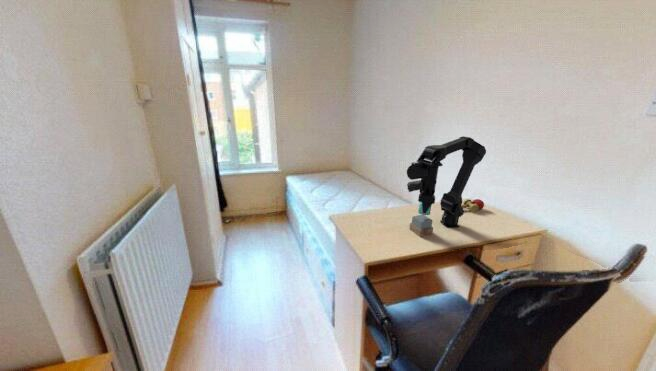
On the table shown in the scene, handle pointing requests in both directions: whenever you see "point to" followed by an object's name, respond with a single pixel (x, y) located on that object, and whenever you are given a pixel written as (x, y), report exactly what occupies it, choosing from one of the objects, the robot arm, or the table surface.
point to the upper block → (422, 221)
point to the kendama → (473, 204)
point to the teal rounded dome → (422, 210)
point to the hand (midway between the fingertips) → (424, 210)
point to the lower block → (421, 230)
